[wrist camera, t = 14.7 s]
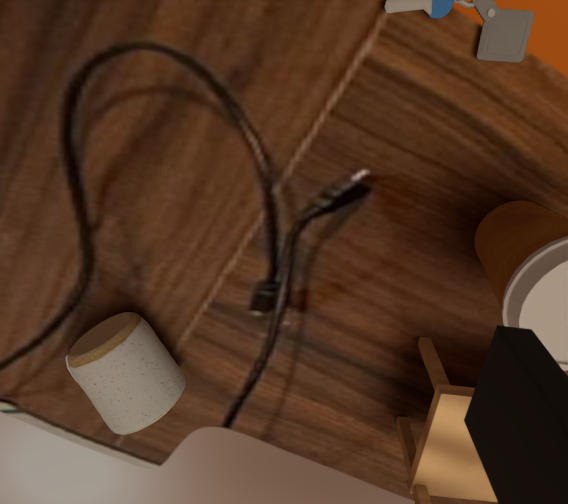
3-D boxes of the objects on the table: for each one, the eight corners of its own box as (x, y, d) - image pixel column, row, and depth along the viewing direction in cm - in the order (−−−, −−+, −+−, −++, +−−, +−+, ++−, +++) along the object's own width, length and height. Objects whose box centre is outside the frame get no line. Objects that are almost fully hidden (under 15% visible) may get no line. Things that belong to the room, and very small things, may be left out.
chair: (418, 333, 45) (486, 511, 28) (536, 347, 45) (671, 530, 29) (393, 424, 49) (439, 622, 33) (500, 436, 50) (599, 637, 33)
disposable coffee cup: (441, 279, 42) (490, 367, 31) (473, 172, 38) (542, 231, 27) (548, 293, 43) (633, 385, 32) (591, 189, 39) (706, 254, 28)
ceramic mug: (147, 294, 44) (117, 346, 37) (195, 362, 47) (175, 421, 40) (54, 336, 46) (9, 392, 39) (105, 398, 49) (72, 460, 42)
